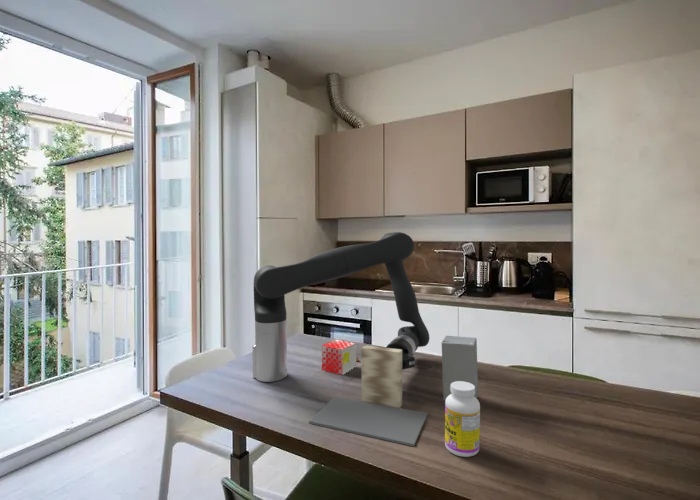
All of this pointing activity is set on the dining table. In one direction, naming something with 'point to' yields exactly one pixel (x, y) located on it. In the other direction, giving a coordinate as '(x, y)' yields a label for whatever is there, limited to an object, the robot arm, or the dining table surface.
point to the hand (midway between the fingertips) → (383, 370)
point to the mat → (371, 420)
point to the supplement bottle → (462, 420)
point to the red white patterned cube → (338, 356)
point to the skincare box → (459, 362)
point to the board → (382, 375)
